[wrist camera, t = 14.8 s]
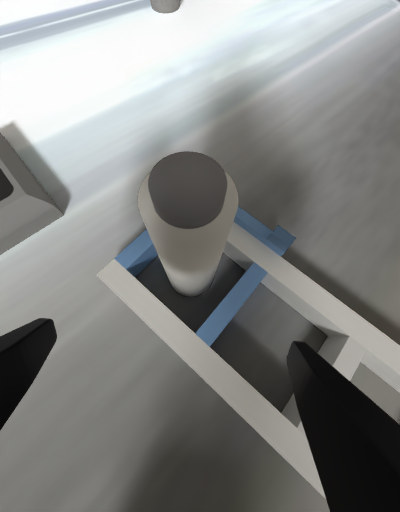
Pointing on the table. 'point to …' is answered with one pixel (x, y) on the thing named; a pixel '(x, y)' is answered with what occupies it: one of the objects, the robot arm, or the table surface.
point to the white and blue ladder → (257, 270)
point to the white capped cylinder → (188, 217)
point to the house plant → (165, 5)
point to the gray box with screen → (21, 200)
